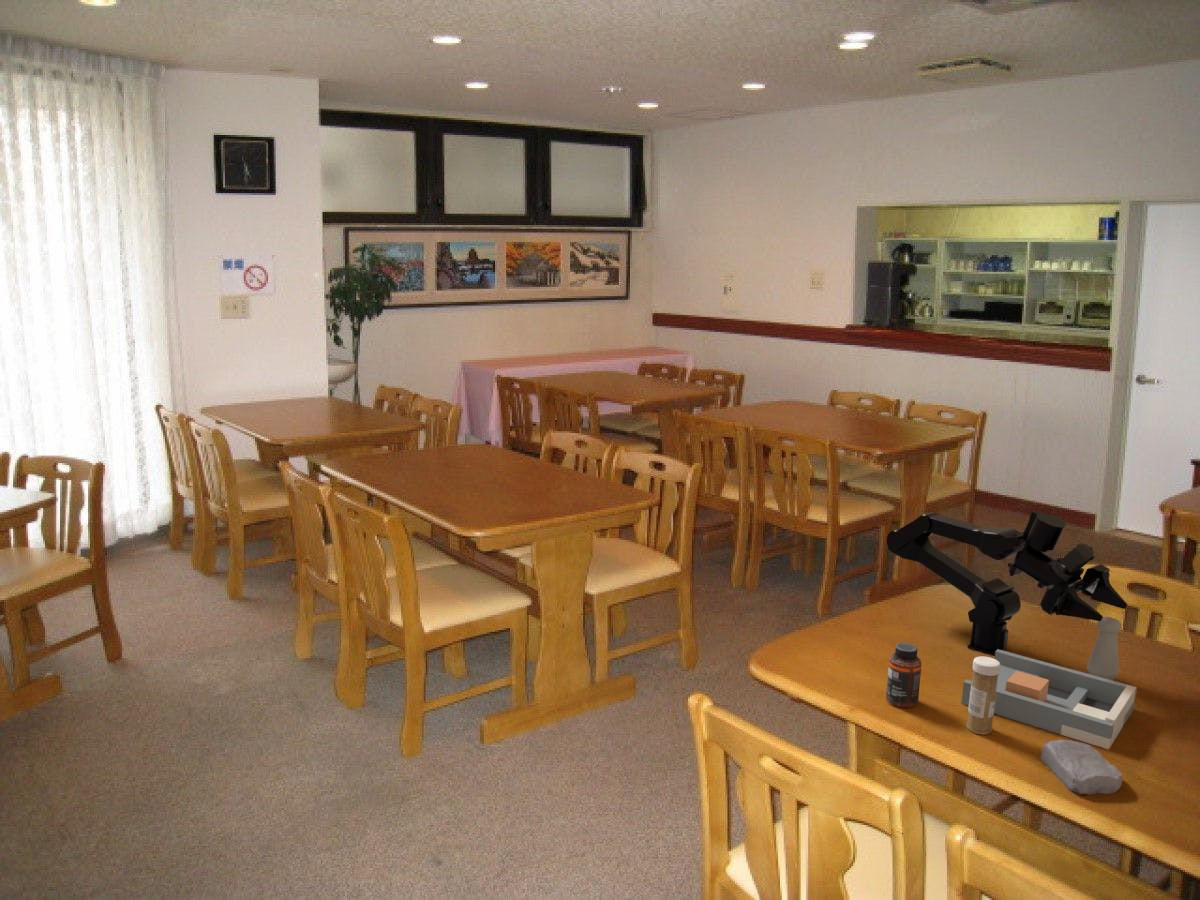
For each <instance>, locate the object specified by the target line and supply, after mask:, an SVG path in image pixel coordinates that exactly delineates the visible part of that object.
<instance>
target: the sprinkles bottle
mask: <svg viewBox="0 0 1200 900" xmlns="http://www.w3.org/2000/svg"><path fill="white" fill-rule="evenodd" d="M999 673H1000V663H999V661H997V660H996V659H995V658H994V657H993V658H992V657H989V656H984V655H983V656H981V655H980V656H976V657H974V659H973V662H972V677H971V678H972V679H971V681H972V684H971V690H970V699H969V706H968V708H967V709H968V714H967V722H966V723H965V724H966V729H967V730H968V731H970V732H971V733H974V734H977V735H990V734H991V733H992V732H993V723H994V722H993V721H994V715H995V714H994V708H995V699H996V688H997V679H998V675H999Z"/></svg>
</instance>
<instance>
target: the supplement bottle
mask: <svg viewBox="0 0 1200 900" xmlns="http://www.w3.org/2000/svg"><path fill="white" fill-rule="evenodd" d="M894 649H895V650H894V653H892V655H890V657H889V660H888V671H887V682H886V697H885V699H886V701H887V703H889V704H890V705H893V706H895V707H898V708H903V709H904V708H907V709H909V708H914V707H915V706H917V705H918V703H919V699H920V698H919V696H920V686H921V674H922V660H921V658H920V657H919V656H918V647H917V646H916V645H915V644H911V643H908V642H899V643H896V645H895V648H894Z"/></svg>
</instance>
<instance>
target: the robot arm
mask: <svg viewBox="0 0 1200 900" xmlns="http://www.w3.org/2000/svg"><path fill="white" fill-rule="evenodd" d="M1029 515H1030V516H1029V517H1028V518H1029V519H1028V522H1027V525H1026V527H1025V529H1024V530H1023V531H1021V532H1020V531H1019V530H1017V529H1015V528H1008V527H997V526H995V527H993V526H991V527H985V526H981V525H977V524H973V523H970V522H966V521H963V520H959V519H956V518H952V517H950V516H945V515H942V514H940V513H938V512H935V511H931V512H927V513H923V514H920V515H919V516H918V517H917V518H916V519H914V520H912V521H911V522H909V523H908V524H906V525H904V526H902V527H901V528H897V529H894V530H891V531H890V532H888V533H887V535H886V539H885V540H886V545H887V550H888V551H889V552H890V553H892V554H893V555H895V556H897V557H899V558H901V559H904V560H908V561H912V562H916V563H919V564H920V565H922V566H923V567H924V568H926V569H928V570H929V571H931V572H932V573H934V574H935V575H937V576H938V577H940V578H941V579H943V580H944V581H945V582H947V583H948V584H950V585H951V586H952V587H954V588H956V589H957V590H958V591H960V592H961V593H962V594H964V595H966V596H967V597H969V599H970V601H971V602H972V604H973V606H974V608H972V609H971V610H969V611H967V615H968V620H969V622H970V623H972V628H971V629H972V630H971V635H970V642H969V643H968V644H967V648H969V649H971V650H975V651H979V652H982V653H986V654H989V655H993V656H995V651H996V650H997V649H999V650H1003V651H1005V650H1006V649H1007V646H1008V639H1009V632H1010V631H1009V629H1007V625H1008V622H1007V621H1011V620H1012V617H1014V616H1015V615H1016V614H1018V613H1019V611H1020V610H1021V606H1022V603H1021V599H1020V595H1019V594H1018V593H1017V592H1016V591H1015V590H1014V589H1015V587H1014V586H1010V585H1009V584H1007V583H1006V582H1004V581H1003V580H1002V579H1001V578H999V577H998V578H996V577H995V578H994V579H991V580H988V581H987V580H984V579H983V578H981V577H979V576H978V575H977V574H975V573H974V572H972V571H970V570H969V569H968V568H966V567H965V566H963V565H962V564H960V563H959V562H957V561H955V560H954V559H953V558H951V557H949V556H948V555H946V554H945V553H943V552H942V551H940V550H938V549H937V548H936V547H934V546H933V545H932V542H931V540H930V539H929V537H931V536H932V535H933V534H934V535H936V536H940V537H943V538H947V539H950V540H953V541H957V542H961V543H964V544H967V545H969V546H973V547H974V548H976V549H977V550H978V551H979V552H980V553H981V554H983V555H985V556H988V557H989V558H991V559H993V560H996V561H997V560H998V561H1001V560H1005V559H1007V558H1011V557H1014V559H1013V561H1012V562H1009V563H1007V567H1008V573H1009V576H1010V577H1015V576H1017V575H1021V574H1022V573H1024V574H1025V575H1027V576H1028V577H1030V578H1031V579H1033V580H1034V581H1037V582H1038V583H1037V587H1038V588H1040V589H1044V588H1046V589H1045V592H1044V594H1043V596H1042V598H1041V601H1040V602H1039V605H1040V607H1041V610H1042V611H1043V612H1045V613H1046V614H1048V615H1049V616H1053V615H1054V614H1055V615H1056V616H1067V617H1073V618H1078V619H1079V618H1080V619H1084V620H1085V619H1086V620H1090V621H1096V622H1098V621H1101V620H1102V619H1103V617H1104V616H1103V615H1102V614H1101V613H1100V612H1099V611H1098V610H1096V609H1095V608H1094V607H1092V606H1091V605H1090V604H1088V603H1087V602H1085V600H1083V599H1082V598H1081V597H1080V596H1079V593H1081V594H1083V595H1085V596H1088V597H1090V599H1091V600H1093V601H1097V602H1100V603H1103V604H1105V605H1108V606H1113V607H1116V608H1118V609H1123V610H1126V609H1127V607H1128V603H1127V602H1126V601H1125V600H1124V598H1123V597H1122V596H1121V595H1120V594H1119V593H1118V592H1117V591H1116V589H1115V588H1114V587H1113V586H1112V584H1111V582H1110V576H1111V575H1110V571H1111V569H1110V568H1109V567H1107V566H1106V565H1103V563H1100V564H1095V565H1093V566H1091V567H1089V568H1087V569H1086V570H1085V568H1083V567H1085V566H1086V565H1087V564H1088V563H1089V562H1090V561H1092V560H1094V559H1095V558H1096V555H1094V553H1095V551H1094V548H1093V547H1092V546H1089V545H1088V544H1087V543H1083V542H1081V543H1078V544H1077V545H1076V546H1075V547H1074V548H1072V549H1071V550H1070V551H1068V553H1066V554H1065V555H1064V556H1063V557H1059V558H1054V557H1052V556H1051V555H1049V554H1047V552H1049V551H1055V549H1056V547H1057V545H1058V543H1059V541H1060V539H1061V537H1062V535H1063V533H1064V530H1065V528H1066V526H1067V524H1066V522H1065V521H1064V520H1063V519H1062V518H1061V517H1059V516H1056V515H1052V514H1049V513H1044V512H1041V511H1039V510H1035V511H1032V512H1031V513H1030V514H1029ZM1084 571H1085V572H1084ZM1082 575H1083V577H1082Z"/></svg>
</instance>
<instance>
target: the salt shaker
mask: <svg viewBox="0 0 1200 900" xmlns="http://www.w3.org/2000/svg"><path fill="white" fill-rule="evenodd" d="M1096 622H1097V624H1096V628H1097V629H1098V630H1099V631H1098V635H1097V638H1096V640H1095V643H1094V646H1093V649H1092V651H1091V653H1090V656H1089V659H1088V662H1087V665H1086V669H1087V670H1088V674H1090V675H1094V676H1098V677H1101V678H1105V679H1109V680H1112V681H1115V679H1116V677H1117V676H1118V674H1119V672H1120V664H1119V663H1120V662H1119V661H1120V658H1119V644H1118V634H1119V633H1120V632H1121V630H1122V623H1121V622H1120V620H1119V619H1117V618H1115V617H1110V616H1103V619H1102V620H1101V621H1096Z"/></svg>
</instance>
